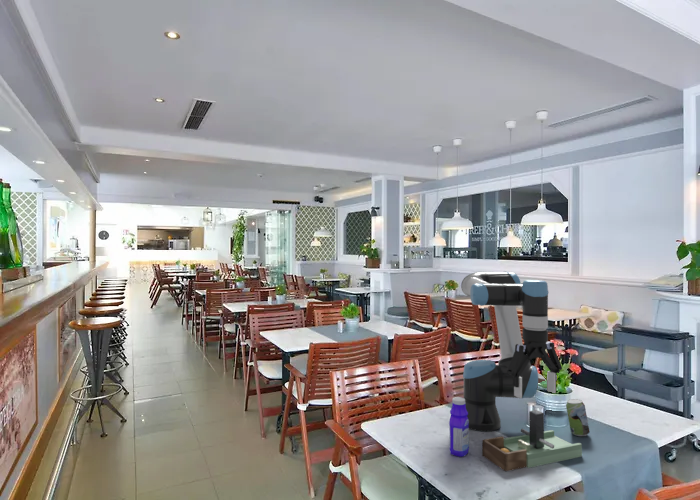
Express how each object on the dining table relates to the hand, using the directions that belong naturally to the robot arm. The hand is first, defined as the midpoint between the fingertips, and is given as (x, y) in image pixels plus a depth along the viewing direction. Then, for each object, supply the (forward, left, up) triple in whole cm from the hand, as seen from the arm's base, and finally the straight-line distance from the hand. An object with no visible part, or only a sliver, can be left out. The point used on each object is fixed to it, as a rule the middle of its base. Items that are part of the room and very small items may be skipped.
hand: (535, 394), depth 138 cm
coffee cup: (-10, +53, -19) cm, 57 cm away
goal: (-6, -11, -19) cm, 23 cm away
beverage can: (+7, +26, -19) cm, 33 cm away
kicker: (-1, -2, -16) cm, 16 cm away
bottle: (-19, -15, -19) cm, 31 cm away
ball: (-6, -12, -19) cm, 23 cm away
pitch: (+1, +1, -19) cm, 19 cm away
